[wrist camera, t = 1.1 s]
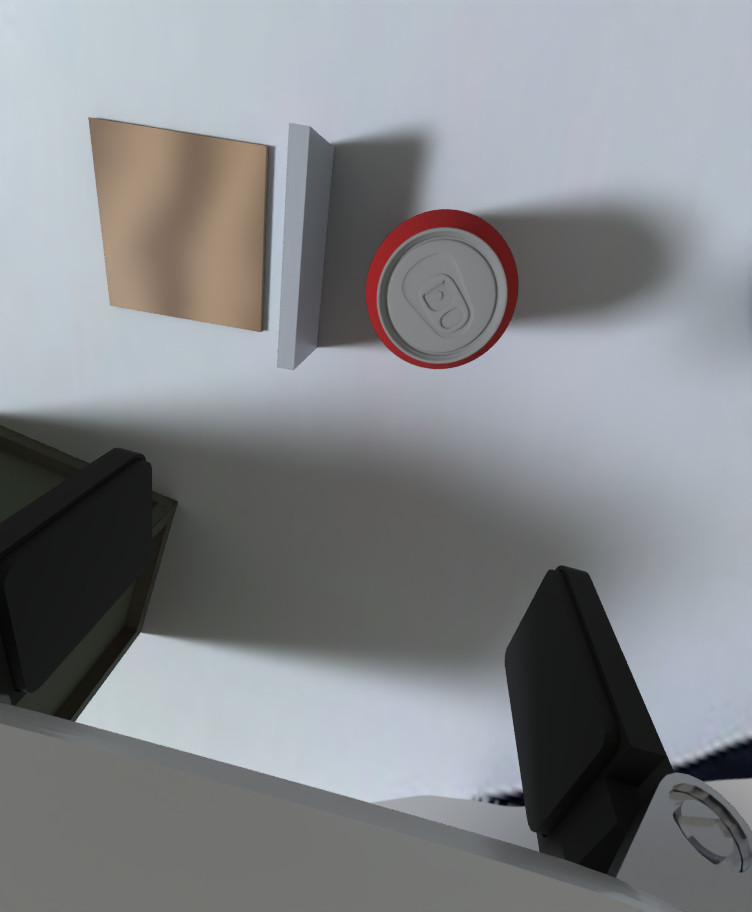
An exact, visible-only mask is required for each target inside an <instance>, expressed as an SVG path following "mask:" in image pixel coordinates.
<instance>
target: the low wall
mask: <svg viewBox="0 0 752 912" xmlns="http://www.w3.org/2000/svg"><path fill="white" fill-rule="evenodd" d="M333 158H334V147H333V146H332V145H331V144H330V143H328V142H327V141H326V140H325V139H324V138H323V137H322V136H320V135H319V134H318V133H317V132H316V131H315V130H314V129H312V128H311V127H310V126H306V125H299V124H293V123H289V137H288V158H287V178H286V198H285V219H284V239H283V259H282V280H281V300H280V320H279V341H278V361H277V367H279V368H284V369H290V370H294V369H295V368H296V367H297V366H298V365H299V364H300V363H301V362H303V361H304V360H305V359H306V358H307V357H308V356H309V355H310V354H311V353H312V352H313V351H314V350H315V349H316V348H317V340H318V328H319V317H320V306H321V294H322V283H323V272H324V260H325V249H326V238H327V226H328V215H329V204H330V192H331V181H332V170H333Z"/></svg>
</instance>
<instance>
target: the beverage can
mask: <svg viewBox="0 0 752 912" xmlns="http://www.w3.org/2000/svg"><path fill="white" fill-rule="evenodd" d="M517 297H518V274H517V268H516V264H515V260H514V258H513V255H512V253H511V250H510V248H509V247H508V245H507V243H506V242H505V240H504V239H503V237H502V236H501V235H500V234H499V233H498V231H497V230H495V229H494V228H493V227H492V226H491V225H490V224H488V223H487V222H486V221H484V220H483V219H481V218H479V217H477V216H475V215H473V214H470V213H467V212H463V211H459V210H450V209H441V210H433V211H428V212H424V213H422V214H419V215H416V216H414V217H412V218H410V219H408V220H406V221H405V222H403V223H402V224H400V225H399V226H398V227H397V228H395V229H394V230H393V231H392V232H391V233H390V234H389V235H388V236H387V238H386V239H385V240H384V241H383V243H382V244H381V245H380V247H379V249H378V250H377V252H376V254H375V256H374V258H373V260H372V263H371V265H370V269H369V272H368V276H367V283H366V304H367V310H368V314H369V318H370V321H371V323H372V326H373V328H374V330H375V332H376V333H377V335H378V337H379V338H380V339H381V341H382V342H383V343H384V345H385V346H386V347H387V348H388V349H389V350H390V351H391V352H393V353H394V354H395V355H396V356H398V357H399V358H401V359H403V360H404V361H406V362H408V363H411V364H413V365H416V366H419V367H423V368H430V369H447V368H453V367H457V366H461V365H464V364H466V363H469V362H471V361H473V360H475V359H476V358H478V357H480V356H481V355H483V354H484V353H485V352H487V351H488V350H489V349H490V348H491V347H492V346H493V345H494V344H495V343H496V342H497V341H498V340H499V338H500V337H501V336H502V335H503V333H504V332H505V330H506V328H507V327H508V325H509V323H510V321H511V318H512V316H513V313H514V310H515V307H516V302H517Z"/></svg>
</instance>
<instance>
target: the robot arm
mask: <svg viewBox="0 0 752 912" xmlns="http://www.w3.org/2000/svg"><path fill="white" fill-rule="evenodd" d="M152 551H153V549H152V467H151V464H150V463H149V462H146V458H145V456H144V455H143V454H140V453H137V452H133V451H129V450H125V449H122V448H114V449H112V450H111V451H109V452H108V453H106V454H104V455H103V456H101V457H100V458H98V459H97V460H95V461H94V462H92V463H91V464H89V465H88V466H86V467H85V468H83V469H82V470H80V471H79V472H77V473H76V474H74V475H72V476H71V477H69V478H68V479H66V480H65V481H63V482H62V483H60V484H59V485H57V486H56V487H54V488H53V489H51V490H50V491H48V492H47V493H45V494H44V495H42V496H40V497H39V498H37V499H36V500H34V501H33V502H31V503H30V504H28V505H27V506H25V507H24V508H22V509H21V510H19V511H18V512H16V513H15V514H13V515H12V516H10V517H8V518H7V519H5V520H4V521H2V522H1V523H0V912H752V831H751V829H750V827H749V826H748V824H747V823H746V822H745V820H744V819H743V818H742V817H741V815H740V814H739V813H738V811H737V810H736V809H735V808H734V807H733V806H732V805H731V804H730V803H729V802H728V801H727V800H726V799H725V798H724V797H723V796H722V795H721V794H720V793H719V792H717V791H716V790H714V789H713V788H712V787H710V786H709V785H707V784H706V783H705V782H703V781H701V780H699V779H697V778H694V777H692V776H690V775H686V774H681V773H674V771H673V769H672V766H671V764H670V762H669V759H668V757H667V755H666V752H665V750H664V748H663V745H662V743H661V741H660V738H659V736H658V734H657V731H656V729H655V727H654V724H653V722H652V720H651V717H650V715H649V713H648V710H647V708H646V706H645V703H644V701H643V699H642V696H641V694H640V692H639V689H638V687H637V685H636V682H635V680H634V678H633V675H632V673H631V671H630V668H629V666H628V664H627V661H626V659H625V657H624V655H623V652H622V650H621V648H620V645H619V643H618V641H617V638H616V636H615V634H614V631H613V629H612V627H611V624H610V622H609V620H608V617H607V615H606V613H605V610H604V608H603V606H602V603H601V601H600V599H599V596H598V594H597V592H596V589H595V587H594V585H593V582H592V580H591V578H590V576H589V574H588V573H587V572H585V571H581V570H577V569H573V568H570V567H566V566H559V567H557V568H556V570H552V569H551V570H549V571H548V572H547V573H546V575H545V577H544V579H543V581H542V583H541V585H540V586H539V588H538V590H537V592H536V594H535V596H534V598H533V600H532V602H531V604H530V605H529V607H528V609H527V611H526V613H525V615H524V617H523V619H522V621H521V622H520V624H519V626H518V628H517V630H516V632H515V634H514V636H513V638H512V640H511V641H510V643H509V645H508V647H507V650H506V653H505V669H506V676H507V683H508V690H509V697H510V704H511V711H512V718H513V725H514V732H515V739H516V746H517V752H518V759H519V766H520V773H521V780H522V787H523V794H524V801H525V808H526V815H527V821H528V825H529V827H530V829H531V831H533V832H536V833H537V838H538V845H539V851H540V852H537V851H534V850H531V849H527V848H524V847H521V846H517V845H514V844H511V843H507V842H504V841H501V840H498V839H494V838H491V837H488V836H484V835H481V834H478V833H474V832H470V831H467V830H464V829H460V828H456V827H453V826H449V825H446V824H442V823H439V822H435V821H431V820H428V819H424V818H421V817H418V816H414V815H410V814H407V813H403V812H400V811H396V810H393V809H389V808H386V807H382V806H379V805H375V804H372V803H368V802H364V801H361V800H357V799H354V798H350V797H347V796H343V795H340V794H336V793H332V792H329V791H325V790H322V789H318V788H314V787H311V786H307V785H304V784H300V783H296V782H293V781H289V780H286V779H282V778H278V777H275V776H271V775H267V774H264V773H260V772H257V771H253V770H249V769H246V768H242V767H239V766H235V765H231V764H228V763H224V762H220V761H217V760H213V759H209V758H206V757H202V756H199V755H195V754H191V753H188V752H184V751H180V750H177V749H173V748H169V747H166V746H162V745H158V744H155V743H151V742H147V741H144V740H140V739H136V738H132V737H129V736H125V735H121V734H118V733H114V732H110V731H107V730H103V729H99V728H95V727H92V726H88V725H84V724H81V723H77V722H73V721H70V720H66V719H62V718H58V717H55V716H51V715H47V714H44V713H40V712H36V711H32V710H28V709H24V708H20V707H16V706H15V705H16V704H17V703H18V702H19V701H20V700H21V699H22V698H23V697H24V695H25V694H26V693H27V692H28V693H32V692H35V691H36V690H38V689H39V688H40V687H41V686H42V685H43V684H44V683H45V681H46V680H47V679H48V678H49V677H50V676H51V675H52V674H53V672H54V671H55V670H56V669H57V668H58V667H59V666H60V665H61V663H62V662H63V661H64V660H65V659H66V658H67V657H68V655H69V654H70V653H71V652H72V651H73V650H74V649H75V648H76V646H77V645H78V644H79V643H80V642H81V641H82V640H83V639H84V637H85V636H86V635H87V634H88V633H89V632H90V631H91V629H92V628H93V627H94V626H95V625H96V624H97V623H98V622H99V620H100V619H101V618H102V617H103V616H104V615H105V614H106V612H107V611H108V610H109V609H110V608H111V607H112V606H113V605H114V603H115V602H116V601H117V600H118V599H119V598H120V597H121V596H122V594H123V593H124V592H125V591H126V590H127V589H128V588H129V586H130V585H131V584H132V583H133V582H134V581H135V580H136V579H137V577H138V576H139V575H140V574H141V573H142V572H143V571H144V570H145V568H146V567H147V566H148V564H149V562H150V560H151V557H152Z"/></svg>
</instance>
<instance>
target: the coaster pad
mask: <svg viewBox="0 0 752 912" xmlns="http://www.w3.org/2000/svg"><path fill="white" fill-rule="evenodd" d="M88 118H89V117H88ZM89 126H90V135H91V144H92V152H93V161H94V170H95V178H96V187H97V196H98V204H99V213H100V222H101V230H102V239H103V248H104V256H105V265H106V274H107V282H108V291H109V300H110V306H116V307H121V308H127V309H133V310H138V311H144V312H150V313H155V314H161V315H167V316H172V317H178V318H184V319H189V320H195V321H201V322H206V323H212V324H218V325H224V326H229V327H235V328H241V329H246V330H252V331H258V332H261V331H262V329H263V298H264V268H265V237H266V207H267V176H268V147H267V146H263V145H257V144H251V143H244V142H238V141H232V140H226V139H220V138H213V137H207V136H201V135H195V134H189V133H182V132H176V131H170V130H164V129H158V128H151V127H145V126H139V125H133V124H127V123H120V122H114V121H108V120H102V119H96V118H89Z"/></svg>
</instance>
